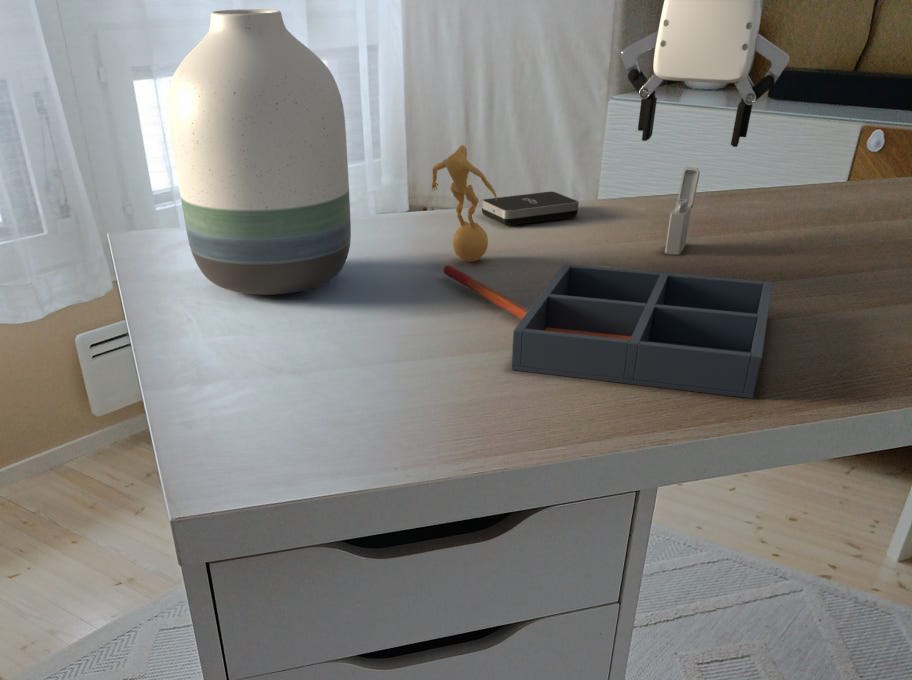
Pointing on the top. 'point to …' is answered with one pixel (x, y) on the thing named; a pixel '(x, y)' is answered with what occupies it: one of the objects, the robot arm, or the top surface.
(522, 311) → the pencil
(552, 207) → the external hard drive
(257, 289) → the vase
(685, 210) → the lighter
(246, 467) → the top surface
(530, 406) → the top surface
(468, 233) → the figurine
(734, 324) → the grid
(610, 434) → the top surface
